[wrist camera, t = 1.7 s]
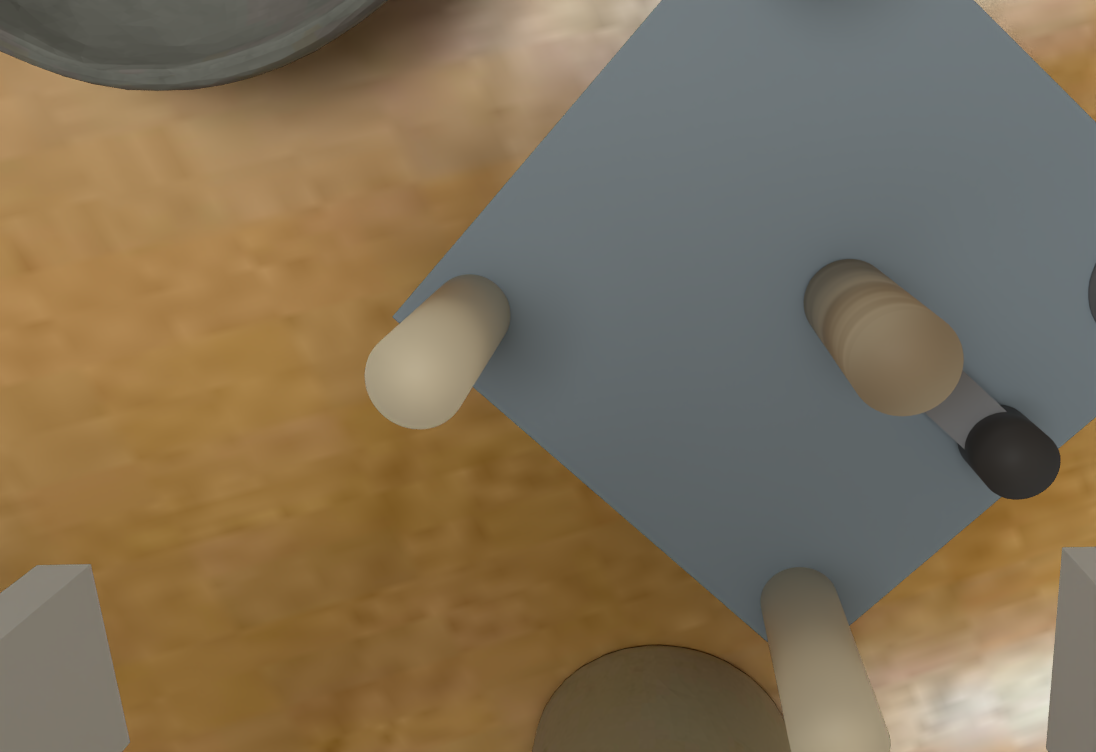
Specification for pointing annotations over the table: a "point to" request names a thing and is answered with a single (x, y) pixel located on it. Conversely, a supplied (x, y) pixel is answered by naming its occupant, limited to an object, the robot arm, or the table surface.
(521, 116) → the table surface
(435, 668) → the table surface
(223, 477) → the table surface
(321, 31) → the bowl
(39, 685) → the robot arm
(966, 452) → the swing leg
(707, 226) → the stool seat
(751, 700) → the teapot
